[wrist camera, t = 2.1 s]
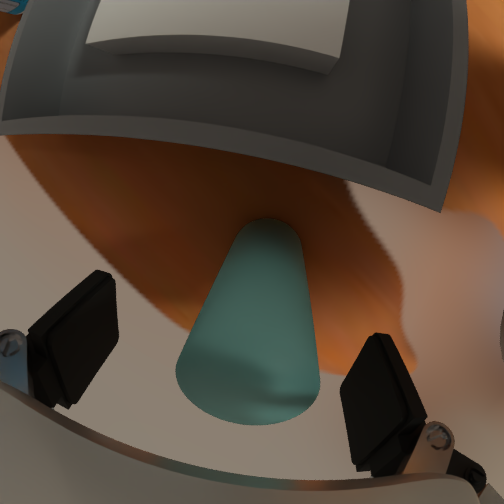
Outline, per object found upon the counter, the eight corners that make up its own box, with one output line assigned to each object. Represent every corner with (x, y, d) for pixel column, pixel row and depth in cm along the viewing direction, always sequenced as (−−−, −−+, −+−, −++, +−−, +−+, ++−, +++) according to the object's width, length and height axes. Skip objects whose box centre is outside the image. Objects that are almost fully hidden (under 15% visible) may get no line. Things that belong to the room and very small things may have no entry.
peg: (285, 207, 15) (287, 310, 6) (312, 268, 16) (336, 408, 7) (221, 235, 16) (148, 353, 7) (251, 291, 17) (221, 431, 8)
